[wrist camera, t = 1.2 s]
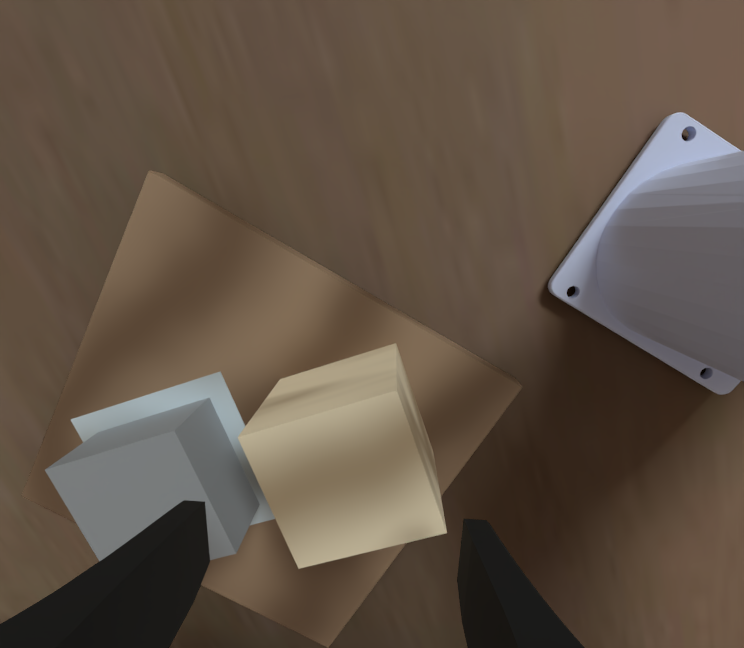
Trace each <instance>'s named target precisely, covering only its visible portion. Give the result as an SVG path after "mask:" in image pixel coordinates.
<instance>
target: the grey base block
mask: <svg viewBox="0 0 744 648" xmlns="http://www.w3.org/2000/svg"><path fill="white" fill-rule="evenodd" d="M45 471H46V473H47V475H48V476H49V478H50V480H51V481H52V483H53V485H54V486H55V488H56V490H57V491H58V493H59V495H60V496H61V498H62V500H63V501H64V503H65V505H66V506H67V508H68V510H69V511H70V513H71V515H72V516H73V518H74V520H75V521H76V523H77V525H78V526H79V528H80V530H81V531H82V533H83V535H84V536H85V538H86V540H87V541H88V543H89V544H90V546H91V548H92V549H93V551H94V553H95V554H96V556H97V558H98V559H99V561H101V560H102V559H104V558H105V557H107V556H108V555H110V554H111V553H113V552H114V551H115V550H117V549H118V548H119V547H121V546H122V545H123V544H125V543H126V542H128V541H129V540H130V539H132V538H133V537H134V536H136V535H137V534H139V533H140V532H141V531H143V530H144V529H145V528H147V527H148V526H149V525H151V524H152V523H153V522H155V521H156V520H157V519H159V518H160V517H161V516H163V515H164V514H165V513H167V512H168V511H169V510H171V509H172V508H174V507H175V506H176V505H178V504H179V503H181V502H182V501H184V500H188V501H203V502H205V507H206V519H207V531H208V543H209V554H210V560H213V559H217V558H221V557H225V556H229V555H233V554H236V553H237V551H238V549H239V547H240V545H241V543H242V541H243V538H244V536H245V534H246V532H247V530H248V528H249V526H250V524H251V522H252V520H253V518H254V515H255V513H256V511H257V509H258V507H259V505H260V504H259V502H258V500H257V497H256V495H255V493H254V491H253V489H252V487H251V485H250V483H249V480H248V478H247V476H246V474H245V472H244V470H243V468H242V466H241V463H240V461H239V459H238V457H237V455H236V453H235V451H234V449H233V446H232V444H231V442H230V440H229V438H228V436H227V434H226V432H225V429H224V427H223V425H222V423H221V421H220V419H219V417H218V415H217V412H216V410H215V408H214V406H213V404H212V402H211V400H210V398H206V399H203V400H199V401H196V402H193V403H190V404H187V405H183V406H180V407H177V408H174V409H171V410H167V411H164V412H161V413H158V414H155V415H151V416H148V417H145V418H142V419H139V420H135V421H132V422H129V423H126V424H123V425H119V426H116V427H113V428H110V429H107V430H103V431H100V432H98V433H96V434H95V435H93V436H92V437H91V438H89V439H88V440H86V441H85V442H84V443H82V444H81V445H79V446H78V447H76V448H75V449H74V450H72V451H71V452H69V453H68V454H67V455H65V456H64V457H62V458H61V459H59V460H58V461H57V462H55V463H54V464H52V465H51V466H50V467H48V468H47V469H45Z"/></svg>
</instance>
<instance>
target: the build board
mask: <svg viewBox="0 0 744 648" xmlns="http://www.w3.org/2000/svg"><path fill="white" fill-rule="evenodd" d="M395 343H396V344H397V347H398V350H399V353H400V356H401V359H402V362H403V365H404V368H405V371H406V374H407V376H408V379H409V382H410V385H411V388H412V391H413V394H414V397H415V400H416V403H417V406H418V409H419V411H420V414H421V417H422V420H423V423H424V426H425V429H426V432H427V435H428V438H429V441H430V444H431V447H432V449H433V454H434V459H435V465H436V471H437V477H438V483H439V489H440V495H441V496H442V495H443V493H444V492H445V491H446V489H447V488H448V486H449V485H450V484H451V482H452V481H453V480H454V478H455V477H456V476H457V474H458V473H459V472H460V470H461V469H462V468H463V466H464V465H465V464H466V462H467V461H468V460H469V458H470V457H471V456H472V454H473V453H474V452H475V450H476V449H477V448H478V446H479V445H480V444H481V442H482V441H483V440H484V438H485V437H486V435H487V434H488V433H489V431H490V430H491V429H492V427H493V426H494V425H495V423H496V422H497V421H498V419H499V418H500V417H501V415H502V414H503V413H504V411H505V410H506V409H507V407H508V406H509V405H510V403H511V402H512V401H513V399H514V398H515V397H516V395H517V394H518V393H519V391H520V390H521V388H522V386H521V384H520V383H519V382H518V380H517V379H516V378H514V377H513V376H511V375H509V374H508V373H506V372H504V371H502V370H501V369H499V368H497V367H495V366H494V365H492V364H490V363H489V362H487V361H485V360H483V359H482V358H480V357H478V356H477V355H475V354H473V353H471V352H470V351H468V350H466V349H464V348H463V347H461V346H459V345H458V344H456V343H454V342H452V341H451V340H449V339H447V338H446V337H444V336H442V335H440V334H439V333H437V332H435V331H433V330H432V329H430V328H428V327H427V326H425V325H423V324H421V323H420V322H418V321H416V320H415V319H413V318H411V317H409V316H408V315H406V314H404V313H402V312H401V311H399V310H397V309H396V308H394V307H392V306H390V305H389V304H387V303H385V302H384V301H382V300H380V299H378V298H377V297H375V296H373V295H371V294H370V293H368V292H366V291H365V290H363V289H361V288H359V287H358V286H356V285H354V284H353V283H351V282H349V281H347V280H346V279H344V278H342V277H340V276H339V275H337V274H335V273H334V272H332V271H330V270H328V269H327V268H325V267H323V266H322V265H320V264H318V263H316V262H315V261H313V260H311V259H309V258H308V257H306V256H304V255H303V254H301V253H299V252H297V251H296V250H294V249H292V248H291V247H289V246H287V245H285V244H284V243H282V242H280V241H278V240H277V239H275V238H273V237H272V236H270V235H268V234H266V233H265V232H263V231H261V230H260V229H258V228H256V227H254V226H253V225H251V224H249V223H247V222H246V221H244V220H242V219H241V218H239V217H237V216H235V215H234V214H232V213H230V212H229V211H227V210H225V209H223V208H222V207H220V206H218V205H216V204H215V203H213V202H211V201H210V200H208V199H206V198H204V197H203V196H201V195H199V194H198V193H196V192H194V191H192V190H191V189H189V188H187V187H185V186H184V185H182V184H180V183H179V182H177V181H175V180H173V179H172V178H170V177H168V176H167V175H165V174H163V173H159V172H154V171H148V174H147V177H146V179H145V182H144V184H143V187H142V189H141V192H140V194H139V197H138V200H137V202H136V205H135V207H134V210H133V212H132V215H131V217H130V220H129V222H128V225H127V228H126V230H125V233H124V235H123V238H122V240H121V243H120V245H119V248H118V250H117V253H116V256H115V258H114V261H113V263H112V266H111V268H110V271H109V273H108V276H107V279H106V281H105V284H104V286H103V289H102V291H101V294H100V296H99V299H98V301H97V304H96V307H95V309H94V312H93V314H92V317H91V319H90V322H89V324H88V327H87V330H86V332H85V335H84V337H83V340H82V342H81V345H80V347H79V350H78V352H77V355H76V358H75V360H74V363H73V365H72V368H71V370H70V373H69V375H68V378H67V380H66V383H65V386H64V388H63V391H62V393H61V396H60V398H59V401H58V403H57V406H56V409H55V411H54V414H53V416H52V419H51V421H50V424H49V426H48V429H47V431H46V434H45V437H44V439H43V442H42V444H41V447H40V449H39V452H38V454H37V457H36V459H35V462H34V465H33V467H32V470H31V472H30V475H29V477H28V480H27V482H26V485H25V488H24V490H23V493H22V495H21V496H22V497H24V498H26V499H28V500H30V501H32V502H34V503H36V504H38V505H40V506H42V507H44V508H46V509H48V510H51V511H53V512H55V513H57V514H59V515H61V516H63V517H65V518H67V519H69V520H71V521H73V522H75V523H76V521H75V520H74V518H73V516H72V515H71V513H70V511H69V510H68V508H67V506H66V505H65V503H64V501H63V500H62V498H61V496H60V495H59V493H58V491H57V490H56V488H55V486H54V485H53V483H52V481H51V480H50V478H49V476H48V475H47V473H46V471H45V469H47V468H48V467H50V466H51V465H52V464H54V463H55V462H57V461H58V460H59V459H61V458H62V457H64V456H65V455H67V454H68V453H69V452H71V451H72V450H74V449H75V448H76V447H78V446H79V445H81V444H82V443H84V442H85V441H86V440H88V439H89V438H91V437H92V436H93V435H95V434H96V433H98V432H100V431H103V430H107V429H110V428H113V427H116V426H119V425H123V424H126V423H129V422H132V421H135V420H139V419H142V418H145V417H148V416H151V415H155V414H158V413H161V412H164V411H167V410H171V409H174V408H177V407H180V406H183V405H187V404H190V403H193V402H196V401H199V400H203V399H206V398H210V400H211V402H212V404H213V406H214V408H215V410H216V412H217V415H218V417H219V419H220V421H221V423H222V425H223V427H224V429H225V432H226V434H227V436H228V438H229V440H230V442H231V444H232V446H233V449H234V451H235V453H236V455H237V457H238V459H239V461H240V463H241V466H242V468H243V470H244V472H245V474H246V476H247V478H248V480H249V483H250V485H251V487H252V489H253V491H254V493H255V495H256V497H257V500H258V502H259V504H260V505H259V507H258V509H257V511H256V513H255V515H254V518H253V520H252V522H251V524H250V526H249V528H248V530H247V532H246V534H245V536H244V538H243V541H242V543H241V545H240V547H239V549H238V551H237V553H236V554H233V555H229V556H225V557H221V558H217V559H213V560H210V563H209V566H208V568H207V571H206V573H205V576H204V578H203V581H202V583H201V585H202V586H204V587H206V588H208V589H210V590H212V591H214V592H216V593H218V594H220V595H222V596H224V597H226V598H228V599H230V600H232V601H234V602H236V603H238V604H240V605H242V606H244V607H247V608H249V609H251V610H253V611H255V612H257V613H259V614H261V615H263V616H265V617H267V618H269V619H271V620H273V621H275V622H277V623H279V624H281V625H283V626H285V627H287V628H289V629H291V630H293V631H295V632H297V633H299V634H301V635H303V636H305V637H307V638H309V639H311V640H313V641H315V642H317V643H319V644H321V645H323V646H325V647H327V648H329V646H330V645H331V644H332V642H333V641H334V640H335V638H336V637H337V635H338V634H339V633H340V631H341V630H342V629H343V627H344V626H345V625H346V623H347V622H348V621H349V619H350V618H351V617H352V615H353V614H354V613H355V611H356V610H357V609H358V607H359V606H360V605H361V603H362V602H363V601H364V599H365V598H366V597H367V595H368V594H369V593H370V591H371V590H372V589H373V587H374V586H375V584H376V583H377V582H378V580H379V579H380V578H381V576H382V575H383V574H384V572H385V571H386V570H387V568H388V567H389V566H390V564H391V563H392V562H393V560H394V559H395V558H396V556H397V555H398V554H399V552H400V551H401V550H402V548H403V547H404V546H405V544H406V543H404V544H400V545H395V546H391V547H387V548H383V549H379V550H375V551H370V552H366V553H362V554H358V555H354V556H350V557H346V558H341V559H337V560H333V561H329V562H325V563H321V564H316V565H312V566H308V567H304V568H300V569H298V566H297V564H296V562H295V560H294V558H293V556H292V554H291V551H290V549H289V547H288V545H287V543H286V541H285V538H284V536H283V534H282V532H281V530H280V528H279V526H278V523H277V521H276V519H275V517H274V515H273V513H272V511H271V508H270V506H269V504H268V502H267V500H266V498H265V495H264V493H263V491H262V489H261V487H260V485H259V483H258V480H257V478H256V476H255V474H254V472H253V470H252V467H251V465H250V463H249V461H248V459H247V457H246V455H245V452H244V450H243V448H242V446H241V444H240V442H239V440H238V436H239V435H240V433H241V432H242V430H243V429H244V428H245V426H246V425H247V424H248V422H249V421H250V420H251V418H252V417H253V415H254V414H255V413H256V411H257V410H258V409H259V407H260V406H261V405H262V403H263V402H264V400H265V399H266V398H267V396H268V395H269V394H270V392H271V391H272V389H273V388H274V387H275V385H276V384H277V383H278V381H279V380H280V379H282V378H285V377H289V376H292V375H295V374H298V373H301V372H305V371H308V370H311V369H314V368H318V367H321V366H324V365H327V364H330V363H334V362H337V361H340V360H343V359H346V358H350V357H353V356H356V355H359V354H363V353H366V352H369V351H372V350H375V349H379V348H382V347H385V346H388V345H392V344H395Z"/></svg>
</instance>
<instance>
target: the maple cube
mask: <svg viewBox="0 0 744 648" xmlns="http://www.w3.org/2000/svg"><path fill="white" fill-rule="evenodd" d="M238 440H239V442H240V444H241V446H242V448H243V450H244V452H245V455H246V457H247V459H248V461H249V463H250V465H251V467H252V470H253V472H254V474H255V476H256V478H257V480H258V483H259V485H260V487H261V489H262V491H263V493H264V495H265V498H266V500H267V502H268V504H269V506H270V508H271V511H272V513H273V515H274V517H275V519H276V521H277V523H278V526H279V528H280V530H281V532H282V534H283V536H284V538H285V541H286V543H287V545H288V547H289V549H290V551H291V554H292V556H293V558H294V560H295V562H296V564H297V566H298V569H300V568H304V567H308V566H312V565H316V564H321V563H325V562H329V561H333V560H337V559H341V558H346V557H350V556H354V555H358V554H362V553H366V552H370V551H375V550H379V549H383V548H387V547H391V546H395V545H400V544H404V543H408V542H412V541H416V540H420V539H424V538H429V537H433V536H437V535H441V534H445V533H447V530H446V524H445V518H444V512H443V506H442V501H441V495H440V489H439V483H438V477H437V471H436V465H435V459H434V454H433V449H432V447H431V444H430V441H429V438H428V435H427V432H426V429H425V426H424V423H423V420H422V417H421V414H420V411H419V409H418V406H417V403H416V400H415V397H414V394H413V391H412V388H411V385H410V382H409V379H408V376H407V374H406V371H405V368H404V365H403V362H402V359H401V356H400V353H399V350H398V347H397V344H396V343H395V344H392V345H388V346H385V347H382V348H379V349H375V350H372V351H369V352H366V353H363V354H359V355H356V356H353V357H350V358H346V359H343V360H340V361H337V362H334V363H330V364H327V365H324V366H321V367H318V368H314V369H311V370H308V371H305V372H301V373H298V374H295V375H292V376H289V377H285V378H282V379H280V380H279V381H278V383H277V384H276V385H275V387H274V388H273V389H272V391H271V392H270V394H269V395H268V396H267V398H266V399H265V400H264V402H263V403H262V405H261V406H260V407H259V409H258V410H257V411H256V413H255V414H254V415H253V417H252V418H251V420H250V421H249V422H248V424H247V425H246V426H245V428H244V429H243V430H242V432H241V433H240V435H239V436H238Z"/></svg>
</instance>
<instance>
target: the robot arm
mask: <svg viewBox="0 0 744 648" xmlns="http://www.w3.org/2000/svg"><path fill="white" fill-rule="evenodd" d="M684 129H686V130H687V131H688V134H689V136H688V139H687V140H686V141H684V140H683V139H682V135H681V134H682V131H683V130H684ZM571 286H574V287H575V293H574V294H573V295H572V296H570V297H568V296H567V290H568V288H569V287H571ZM548 289H549V292H550V293H551V294H552V295H554V296H555V297H557V298H559V299H560V300H562V301H564V302H565V303H567V304H569V305H570V306H572V307H574V308H575V309H577V310H579V311H580V312H582V313H584V314H585V315H587V316H588V317H590V318H592V319H593V320H595V321H597V322H598V323H600V324H602V325H603V326H605V327H607V328H608V329H610V330H612V331H613V332H615V333H617V334H618V335H620V336H621V337H623V338H625V339H626V340H628V341H630V342H631V343H633V344H635V345H636V346H638V347H640V348H641V349H643V350H645V351H646V352H648V353H650V354H651V355H653V356H655V357H656V358H658V359H659V360H661V361H663V362H664V363H666V364H668V365H669V366H671V367H673V368H674V369H676V370H678V371H679V372H681V373H683V374H684V375H686V376H688V377H689V378H691V379H692V380H694V381H696V382H697V383H699V384H701V385H702V386H704V387H706V388H707V389H709V390H711V391H713V392H714V393H717V394H719V395H724V394H727V393H730V392H731V391H732V390H733V389H734V388H735V387H736V386H737V385H738V384H739V383H740V381H743V382H744V151H741V150H739V149H738V148H736V147H735V146H733V145H732V144H730V143H729V142H727V141H726V140H724V139H723V138H721V137H720V136H718V135H717V134H715V133H714V132H712V131H711V130H709V129H708V128H706V127H705V126H703V125H702V124H700V123H699V122H697V121H696V120H694V119H693V118H691V117H690V116H688V115H687V114H684V113H682V112H681V113H675V114H672V115H670V116H668V117H666V118H665V119H664V120H663V121H662V122H661V123H660V124H659V126H658V127H657V129H656V130H655V131H654V133H653V134H652V136H651V137H650V139H649V140H648V141H647V143H646V144H645V146H644V147H643V148H642V150H641V151H640V153H639V154H638V156H637V157H636V158H635V160H634V161H633V163H632V164H631V165H630V167H629V168H628V170H627V171H626V172H625V174H624V175H623V177H622V178H621V180H620V181H619V182H618V184H617V185H616V187H615V188H614V189H613V191H612V192H611V194H610V195H609V197H608V198H607V199H606V201H605V202H604V204H603V205H602V206H601V208H600V209H599V211H598V212H597V213H596V215H595V216H594V218H593V219H592V221H591V222H590V223H589V225H588V226H587V228H586V229H585V230H584V232H583V233H582V235H581V236H580V237H579V239H578V240H577V242H576V243H575V245H574V246H573V247H572V249H571V250H570V252H569V253H568V254H567V256H566V257H565V259H564V260H563V262H562V263H561V264H560V266H559V267H558V269H557V270H556V271H555V273H554V274H553V276H552V277H551V278H550V280H549V283H548ZM704 368H706V371H705V373H704V374H703V375H700V372H701V370H703V369H704ZM209 563H210V554H209V543H208V531H207V519H206V507H205V502H203V501H188V500H184V501H182V502H181V503H179V504H178V505H176V506H175V507H174V508H172V509H171V510H169V511H168V512H167V513H165V514H164V515H163V516H161V517H160V518H159V519H157V520H156V521H155V522H153V523H152V524H151V525H149V526H148V527H147V528H145V529H144V530H143V531H141V532H140V533H139V534H137V535H136V536H134V537H133V538H132V539H130V540H129V541H128V542H126V543H125V544H123V545H122V546H121V547H119V548H118V549H117V550H115V551H114V552H113V553H111V554H110V555H108V556H107V557H105V558H104V559H102V560H101V561H100V562H98V563H97V564H95V565H94V566H92V567H91V568H89V569H88V570H86V571H85V572H83V573H82V574H80V575H79V576H77V577H76V578H75V579H73V580H72V581H70V582H69V583H67V584H66V585H64V586H63V587H61V588H60V589H58V590H56V591H55V592H53V593H52V594H50V595H48V596H47V597H45V598H44V599H42V600H40V601H39V602H37V603H35V604H34V605H32V606H30V607H29V608H27V609H25V610H24V611H22V612H20V613H19V614H17V615H15V616H14V617H12V618H10V619H9V620H7V621H5V622H3V623H2V624H0V648H169V647H170V645H171V643H172V641H173V639H174V637H175V636H176V634H177V632H178V630H179V628H180V626H181V624H182V623H183V621H184V619H185V617H186V615H187V613H188V611H189V610H190V608H191V606H192V604H193V602H194V600H195V597H196V595H197V593H198V590H199V588H200V586H201V583H202V581H203V578H204V576H205V573H206V571H207V568H208V566H209ZM457 582H458V591H459V599H460V608H461V616H462V623H463V628H464V633H465V637H466V642H467V646H468V648H584V647H583V646H582V644H581V643H580V642H579V641H578V640H577V639H576V638H575V637H574V635H573V634H572V633H571V632H570V631H569V630H568V628H567V627H566V626H565V625H564V624H563V622H562V621H561V620H560V619H559V618H558V616H557V615H556V614H555V613H554V612H553V610H552V609H551V608H550V607H549V605H548V604H547V603H546V602H545V600H544V599H543V598H542V597H541V595H540V594H539V593H538V591H537V590H536V589H535V587H534V586H533V585H532V584H531V582H530V581H529V580H528V578H527V577H526V576H525V574H524V573H523V572H522V570H521V569H520V567H519V566H518V565H517V563H516V562H515V560H514V559H513V558H512V556H511V555H510V553H509V552H508V551H507V549H506V548H505V546H504V545H503V543H502V542H501V540H500V539H499V537H498V536H497V534H496V533H495V531H494V530H493V528H492V527H491V525H490V524H489V523H488V522H487V520H474V519H464V521H463V531H462V540H461V549H460V559H459V568H458V577H457Z"/></svg>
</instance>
